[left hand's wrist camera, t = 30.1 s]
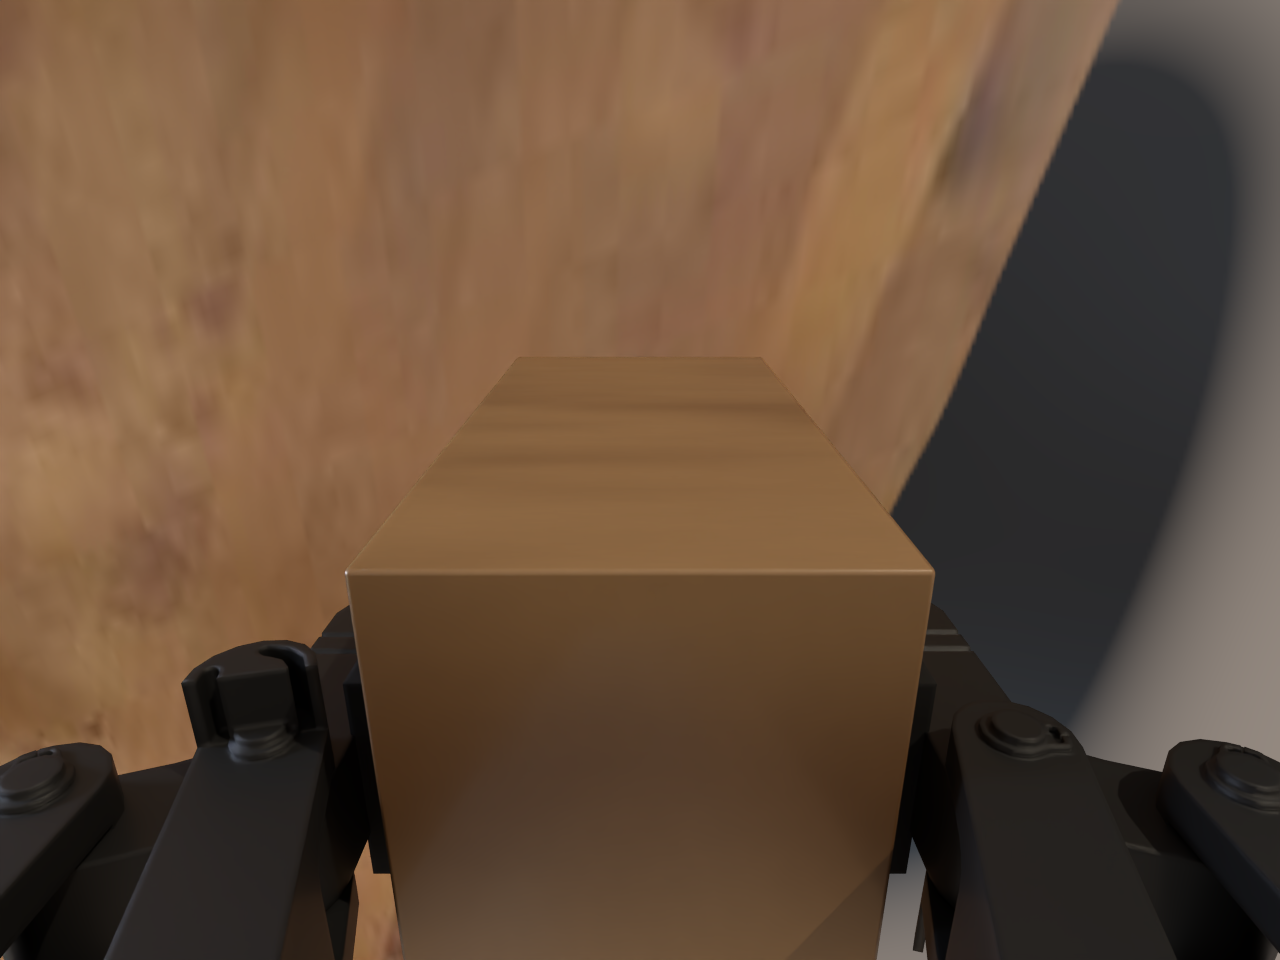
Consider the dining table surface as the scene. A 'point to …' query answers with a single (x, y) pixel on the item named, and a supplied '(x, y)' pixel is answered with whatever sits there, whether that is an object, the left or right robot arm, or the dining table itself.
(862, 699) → the wooden block
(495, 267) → the dining table surface
